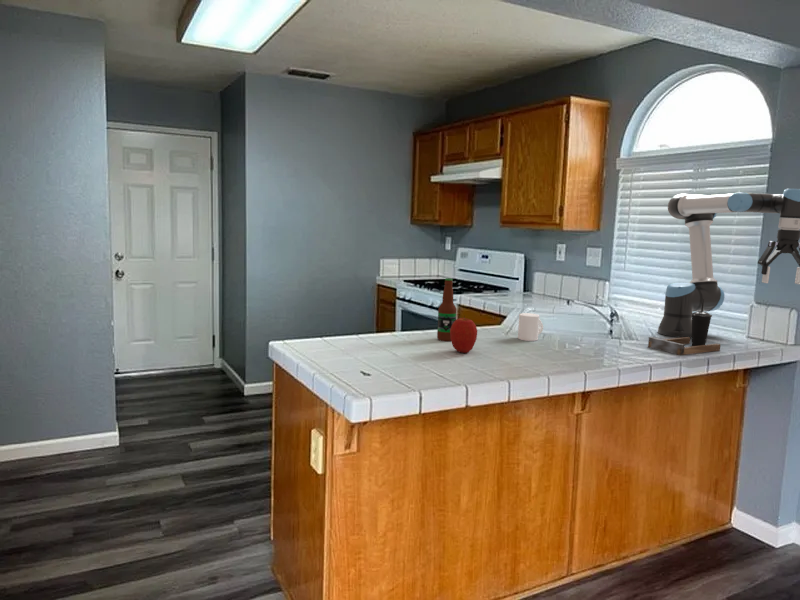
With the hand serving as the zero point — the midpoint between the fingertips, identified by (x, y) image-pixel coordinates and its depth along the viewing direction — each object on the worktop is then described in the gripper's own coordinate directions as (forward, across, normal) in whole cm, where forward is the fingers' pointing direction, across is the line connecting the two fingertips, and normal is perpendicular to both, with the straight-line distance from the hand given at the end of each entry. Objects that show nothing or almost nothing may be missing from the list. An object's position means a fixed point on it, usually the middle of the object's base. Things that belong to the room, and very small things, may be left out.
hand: (781, 283), depth 234 cm
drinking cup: (+29, -26, +8) cm, 39 cm away
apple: (+29, -127, -10) cm, 130 cm away
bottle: (+29, -130, +11) cm, 134 cm away
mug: (+29, -93, +17) cm, 99 cm away
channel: (+28, -34, +4) cm, 45 cm away
